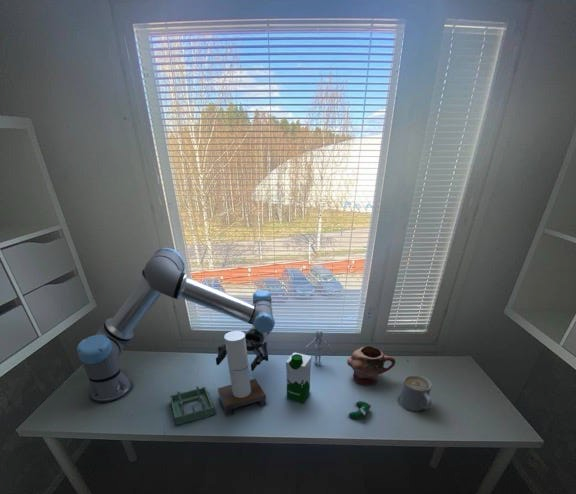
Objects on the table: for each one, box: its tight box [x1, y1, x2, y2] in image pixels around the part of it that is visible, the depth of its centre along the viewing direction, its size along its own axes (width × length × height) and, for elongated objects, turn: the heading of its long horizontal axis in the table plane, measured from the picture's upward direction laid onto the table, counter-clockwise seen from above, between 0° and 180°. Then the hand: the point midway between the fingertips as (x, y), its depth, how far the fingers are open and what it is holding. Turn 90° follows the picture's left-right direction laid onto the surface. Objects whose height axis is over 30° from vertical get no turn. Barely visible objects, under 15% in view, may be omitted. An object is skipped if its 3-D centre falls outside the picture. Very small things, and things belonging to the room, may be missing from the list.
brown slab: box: [217, 378, 267, 416], centre depth 128 cm, size 12×16×5 cm
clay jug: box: [346, 345, 396, 386], centre depth 138 cm, size 20×12×14 cm, turn 92°
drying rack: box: [169, 385, 215, 426], centre depth 124 cm, size 14×14×7 cm
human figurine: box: [305, 329, 332, 366], centre depth 146 cm, size 12×4×18 cm, turn 90°
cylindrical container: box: [223, 330, 251, 398], centre depth 119 cm, size 7×7×25 cm
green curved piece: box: [348, 400, 372, 419], centre depth 122 cm, size 9×4×6 cm
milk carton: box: [285, 352, 313, 404], centre depth 126 cm, size 9×9×20 cm
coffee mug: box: [398, 374, 433, 412], centre depth 124 cm, size 13×10×10 cm
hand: (234, 364), depth 116 cm, fingers open, 13 cm apart
